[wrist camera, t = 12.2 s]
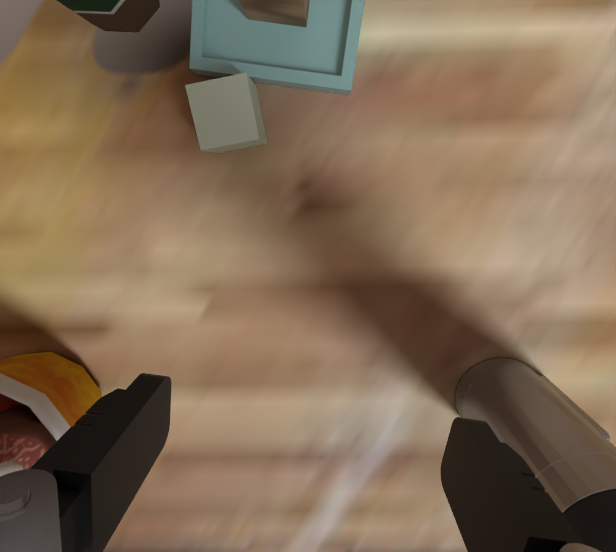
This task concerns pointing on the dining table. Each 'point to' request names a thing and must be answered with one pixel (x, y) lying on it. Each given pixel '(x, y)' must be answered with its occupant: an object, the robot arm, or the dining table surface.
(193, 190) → the dining table surface
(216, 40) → the teal tray
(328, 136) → the dining table surface
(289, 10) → the walnut block
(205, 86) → the sage block
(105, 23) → the beer bottle
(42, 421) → the bucket of meat
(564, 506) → the robot arm
